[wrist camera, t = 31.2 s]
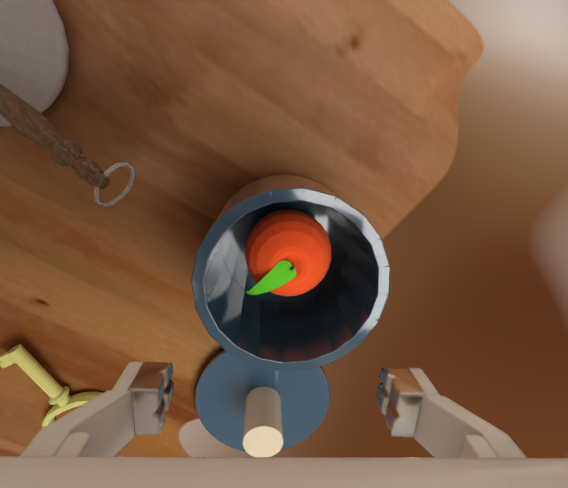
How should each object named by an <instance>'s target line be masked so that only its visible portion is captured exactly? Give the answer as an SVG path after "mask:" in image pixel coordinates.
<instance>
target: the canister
mask: <svg viewBox="0 0 568 488" xmlns="http://www.w3.org/2000/svg"><path fill="white" fill-rule="evenodd" d="M279 210H296V211H300V212H303V213H305V214H307V215H309V216H311V217H313V218H315V219H316V220H317V221H318V222H319V223H320V224H321V225H322V226H323V228H324V229H325V231H326V233H327V234H328V238H329V241H330V245H331V262H330V266H329V269H328V271H327V273H326V274H325V276H324V278H323V279H322V280H321V281H320V282H319V283H318V284H317V285H316V286H315V287H314V288H313V289H311V290H309V291H308V292H306V293H303V294H300V295H297V296H282V295H276V294H274V293H272V292H265V293H262V294H258V295H249V294H248V293H246V292H245V291H249V290H250V289H252V288H253V287H254V286H255V285H256V284H257V283H256V281H255V280H254V279H253V277H252V276H251V274H250V272H249V270H248V267H247V264H246V259H245V246H246V241H247V238H248V236H249V234H250V232H251V230H252V228H253V227H254V226H255V225H256V224H257V223H258V222H259V221H260V220H261V219H262V218H264V217H265V216H267V215H268V214H270V213H273V212H276V211H279ZM389 265H390V264H389V261H388V258H387V254H386V251H385V248H384V245H383V242H382V239H381V236H380V235H379V234H378V233H377V231H376V230H375V229H374V227H373V226H372V225H371V223H370V222H369V221H368V219H367V218H366V217H365V215H364V214H363V213H362V212H360V211H359V210H357V209H356V208H355V207H353V206H352V205H350V204H349V203H347V202H346V201H345V200H343V199H342V198H340V197H339V196H337V195H336V194H335V193H333V192H332V191H330V190H329V189H327V188H326V187H324V186H323V185H321V184H320V183H318V182H317V181H315V180H311V179H308V178H305V177H301V176H296V175H273V176H269V177H268V176H267V177H264V178H262V179H259V180H256V181H254V182H252V183H250V184H247V185H246V186H244V187H243V188H242V189H241V190H239V191H238V192H237V193H236V194H235V195H234V196H233V197H232V198H230V199H229V201H228V202H227V203H226V205H225V206H224V208H223V209H222V211H221V212H220V214H219V216H218V217H217V219H216V220H215V222H214V223H213V225H212V227H211V228H210V230H209V232H208V233H207V235H206V237H205V238H204V240H203V242H202V243H201V245H200V247H199V248H198V251H197V253H196V258H195V263H194V268H193V273H192V279H191V283H192V290H193V296H194V303H195V309H196V311H197V313H198V315H199V317H200V319H201V320H202V322H203V324H204V326H205V328H206V330H207V332H208V334H209V335H210V336H211V337H212V338H213V339H214V340H215V341H216V342H217V343H218V344H220V345H221V346H222V347H223V348H224V349H225V350H226V351H227V352H228V353H230V355H232V356H234V357H236V358H238V359H240V360H242V361H244V362H246V363H248V364H250V365H252V366H254V367H260V368H265V369H270V370H276V371H281V372H282V371H283V372H288V371H300V370H311V369H314V368H317V367H320V366H322V365H325V364H328V363H331V362H333V361H336V360H338V359H340V358H341V357H343V356H344V355H346V354H347V353H348V352H350V351H351V350H353V349H354V348H355V347H357V346H358V345H360V344H361V343H362V342H363V340H364V339H365V338H366V337H367V335H368V334H369V333H370V331H371V330H372V329H373V328H374V326H375V325H376V324H377V323H378V320H379V319H380V316H381V314H382V311H383V308H384V306H385V303H386V300H387V298H388V294H389V279H390V266H389Z"/></svg>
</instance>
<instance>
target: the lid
mask: <svg viewBox="0 0 568 488" xmlns="http://www.w3.org/2000/svg"><path fill="white" fill-rule="evenodd" d="M329 399H330V390H329V384H328V381H327V378H326V375H325V372H324V371H323V369H322V367H321V366H320V367H317V368H314V369H311V370H300V371H288V372H283V371H282V372H281V371H276V370H270V369H265V368H260V367H254V366H252V365H250V364H248V363H246V362H244V361H242V360H240V359H238V358H236V357H234V356H232V355H230V353H228V352H227V351H226V350H224V351H222V352H220V353H219V354H218V355H217V356H215V357H214V358H213V359H212V360H211V361H210V362H209V363H208V364H207V366H206V367H205V369H204V370H203V372H202V374H201V376H200V378H199V381H198V384H197V388H196V394H195V404H196V410H197V413H198V416H199V418H200V420H201V422H202V424H203V425H204V427H205V428H206V429H207V431H208V432H209V433H210V434H211V435H212V436H214V437H215V438H216V439H217V440H219V441H220V442H222V443H224V444H225V445H228V446H230V447H232V448H235V449H238V450H242V451H246V452H247V453H248V454H249V455H251V456H253V457H271V456H273V455H275V454H277V453H278V452H279V451H280V450H283V449H286V448H289V447H292V446H294V445H296V444H298V443H299V442H301V441H303V440H304V439H306V438H307V437H308V436H310V435H311V434H312V433H313V432H314V431H315V430H316V429H317V428H318V427H319V425H320V424H321V422H322V421H323V419H324V417H325V415H326V413H327V410H328V406H329Z"/></svg>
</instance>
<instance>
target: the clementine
mask: <svg viewBox="0 0 568 488" xmlns="http://www.w3.org/2000/svg"><path fill="white" fill-rule="evenodd" d="M245 259H246V264H247V267H248V270H249V272H250V274H251V276H252V277H253V279H254V280H255V281H256V283H257V284H256V285H255V286H254V287H253V288H252V289H250V290H249V291H245V292H246V293H248V294H249V295H258V294H262V293H265V292H272V293H274V294H276V295H282V296H297V295H300V294H303V293H306V292H308V291H309V290H311V289H313V288H314V287H315V286H316V285H317V284H318V283H319V282H320V281H321V280H322V279H323V278H324V276H325V274H326V273H327V271H328V269H329V266H330V262H331V245H330V241H329V238H328V234H327V233H326V231H325V229H324V228H323V226H322V225H321V224H320V223H319V222H318V221H317V220H316V219H315V218H313V217H311V216H309V215H307V214H305V213H303V212H300V211H296V210H279V211H276V212H273V213H270V214H268V215H267V216H265V217H264V218H262V219H261V220H260V221H259V222H258V223H257V224H256V225H255V226H254V227H253V228H252V230H251V232H250V234H249V236H248V238H247V241H246V246H245Z"/></svg>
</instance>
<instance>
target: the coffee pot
mask: <svg viewBox="0 0 568 488" xmlns="http://www.w3.org/2000/svg"><path fill="white" fill-rule="evenodd" d="M68 66H69V47H68V42H67V37H66V33H65V28H64V25H63V22H62V20H61V17H60V15H59V13H58V11H57V9H56V6H55V4H54V2H53V0H0V126H13V127H14V128H15V129H16V130H17V131H18V132H20V133H21V134H22V135H23V136H25V137H27V138H29V139H31V140H32V141H34V142H36V143H37V144H39V145H41V146H42V147H44V148H46V149H47V150H49V151H50V152H52V158H53V160H54V161H55V162H56V163H57V164H58V165H60V166H71V167H72V168H73V169H74V170H75V171H76V174H77V175H78V176H79V177H80V178H81V179H83V180H85V181H86V182H88V183H90V184H91V185H94V186H95V190H94V198H95V202H96V203H98V204H100V205H102V206H104V207H106V206H111V205H114V204H116V203H117V202H118V201H120V200H121V199H122V198H123V197H124V196H125V195H126V194H127V193H128V191H129V190H130V189H131V187H132V184H133V181H134V178H135V173H134V168H133V167H131V166H130V165H129V164H128V163H127V162H121V163H115V164H114V165H112V166H111V167H110V168H108V169H107V170H106V171H105V172H103V171H102V170H101V168H100V167H99V166H98V165H97V164H96V163H95V162H94V161H91V160H89V159H86V158H85V157H84V156H83V155H82V148H81V146H80V145H79V144H78V143H77V142H75V141H73V140H65V139H64V138H63V137H62V136H61V134H60V133H59V132H58V131H57V130H56V129H55V128H54V127H53V125H52V124H51V123H50V122H49V121H48V120H47V118H46V117H45V116H44V115H43V114H42V112H43V111H45V110H46V109H47V108H49V107H50V106H51V105H52V104H53V102H54V101H55V99H56V98H57V96H58V95H59V93H60V92H61V91H62V89H63V86H64V83H65V80H66V76H67V73H68ZM122 166H128V167H130V174H131V176H130V179H129V183H128V186H127V187H126V188H125V189H124V191H123V192H122V193H121V194H120V195H119V196H118V197H116V198H115V199H114V200H112V201H110V202H106V203H102V202H100V201H99V195H98V194H99V190H100V189H103V188H106V187H107V186H108V185H109V182H110V181H109V179H108V177H107V176H108V175H109V174H110V173H111V172H113V171H114V170H115V169H117V168H118V167H122Z"/></svg>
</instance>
